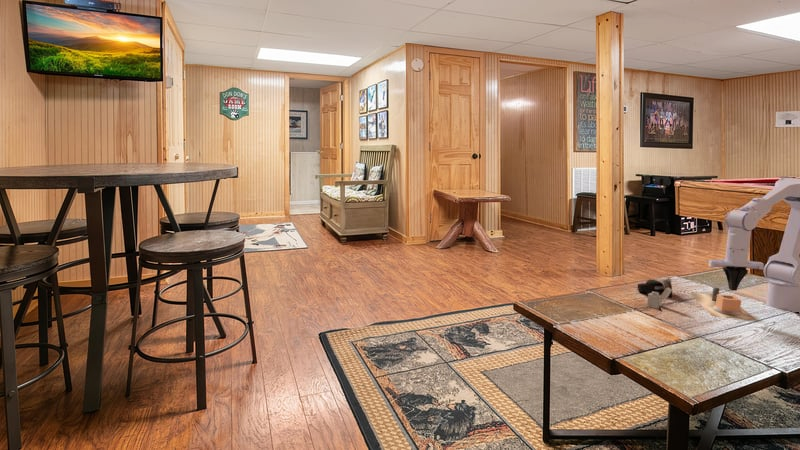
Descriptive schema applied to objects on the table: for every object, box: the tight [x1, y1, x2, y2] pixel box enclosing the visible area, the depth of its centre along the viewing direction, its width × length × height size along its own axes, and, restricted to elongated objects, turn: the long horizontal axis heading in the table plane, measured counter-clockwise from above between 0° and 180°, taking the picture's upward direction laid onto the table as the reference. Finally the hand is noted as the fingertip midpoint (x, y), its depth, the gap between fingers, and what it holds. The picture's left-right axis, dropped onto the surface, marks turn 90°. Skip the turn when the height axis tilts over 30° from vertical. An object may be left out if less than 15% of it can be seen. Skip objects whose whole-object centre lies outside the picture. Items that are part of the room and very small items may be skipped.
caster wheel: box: [637, 276, 674, 298], centre depth 167 cm, size 7×12×10 cm
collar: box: [716, 293, 742, 312], centre depth 146 cm, size 5×5×4 cm
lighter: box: [647, 288, 673, 310], centre depth 152 cm, size 7×2×8 cm, turn 29°
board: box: [689, 286, 758, 321], centre depth 152 cm, size 12×24×6 cm, turn 163°
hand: (732, 289), depth 143 cm, fingers closed
